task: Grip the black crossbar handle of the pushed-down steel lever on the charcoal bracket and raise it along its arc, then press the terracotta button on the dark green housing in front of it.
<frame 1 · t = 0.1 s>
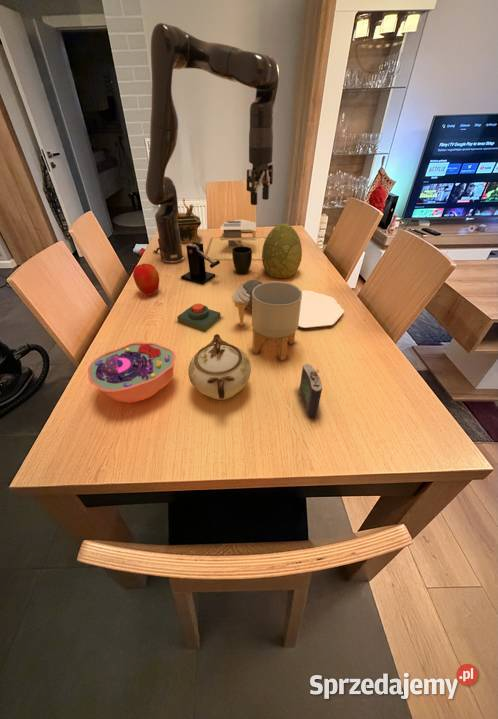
hand: (259, 202, 104), 29 cm above the table, tool pointing down, fingers open, 8 cm apart
cell model: (140, 388, 76), on the table
sugar bowl: (221, 388, 76), on the table
lever: (204, 256, 117), point 10 cm above the table, hinge at -25.0°
plate: (306, 311, 105), on the table
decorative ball: (253, 308, 106), on the table
decorative box: (183, 241, 160), on the table
house model: (239, 248, 151), on the table
ice cream cone: (241, 326, 98), on the table
decorative sculpture: (280, 273, 129), on the table
button: (198, 308, 97), point 4 cm above the table, slide at 0.1 cm
flask: (307, 404, 72), on the table
planter: (273, 347, 89), on the table
mug: (242, 270, 131), on the table
bracket: (198, 277, 125), on the table
button housing: (199, 320, 100), on the table
red mango: (150, 293, 115), on the table
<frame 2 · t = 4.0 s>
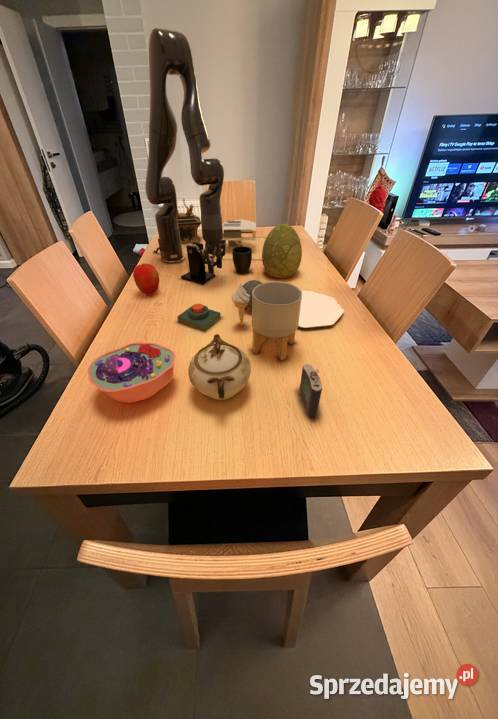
hand: (215, 270, 118), 5 cm above the table, tool pointing down, fingers closed on lever, 5 cm apart
lever: (204, 256, 117), point 10 cm above the table, hinge at -25.1°, touching gripper
everything else where it was.
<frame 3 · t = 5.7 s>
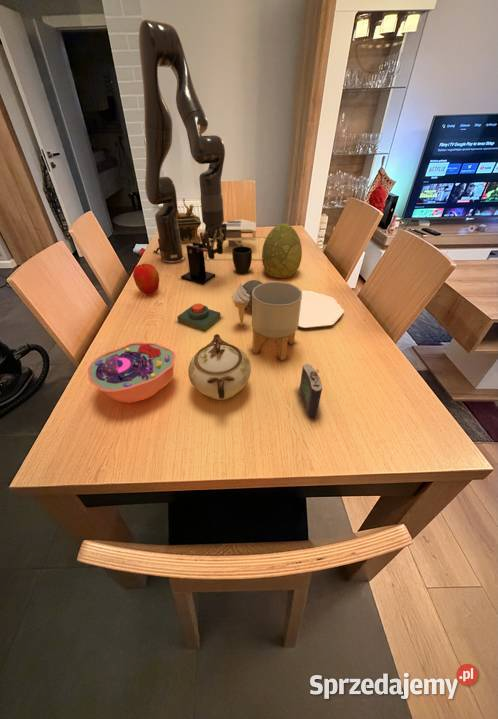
hand: (215, 255, 114), 11 cm above the table, tool pointing down, fingers closed on lever, 5 cm apart
lever: (204, 249, 115), point 13 cm above the table, hinge at 6.5°, touching gripper
everything else where it was.
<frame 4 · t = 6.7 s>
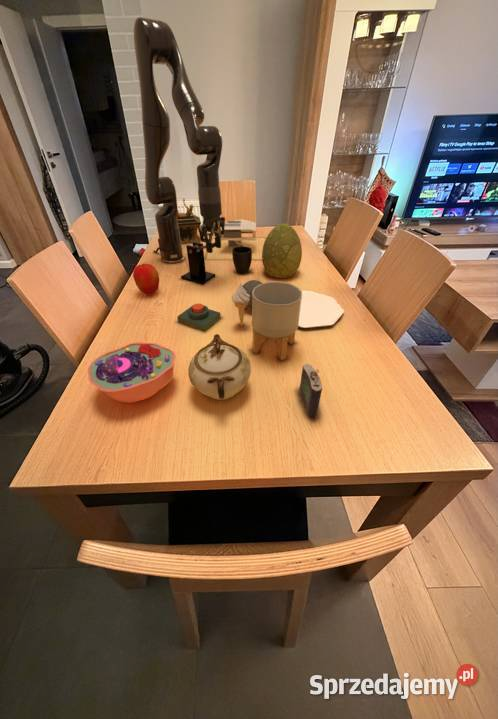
hand: (214, 249, 113), 13 cm above the table, tool pointing down, fingers closed on lever, 5 cm apart
lever: (203, 247, 115), point 14 cm above the table, hinge at 19.2°, touching gripper
everything else where it was.
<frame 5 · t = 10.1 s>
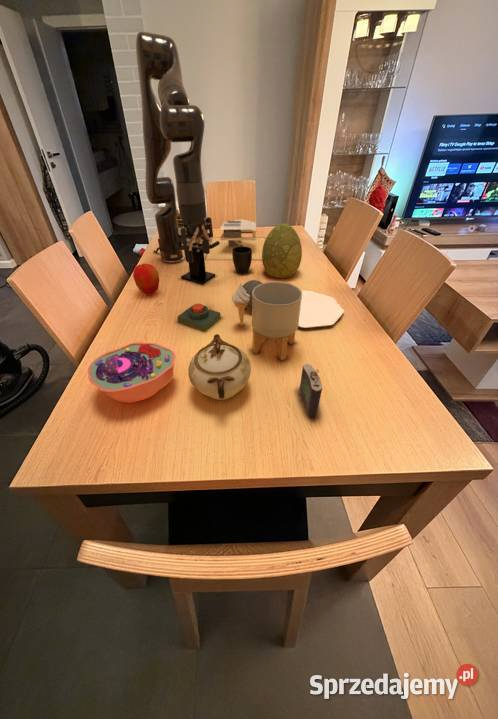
hand: (198, 257, 93), 19 cm above the table, tool pointing down, fingers open, 8 cm apart
lever: (203, 247, 115), point 14 cm above the table, hinge at 18.8°
everything else where it was.
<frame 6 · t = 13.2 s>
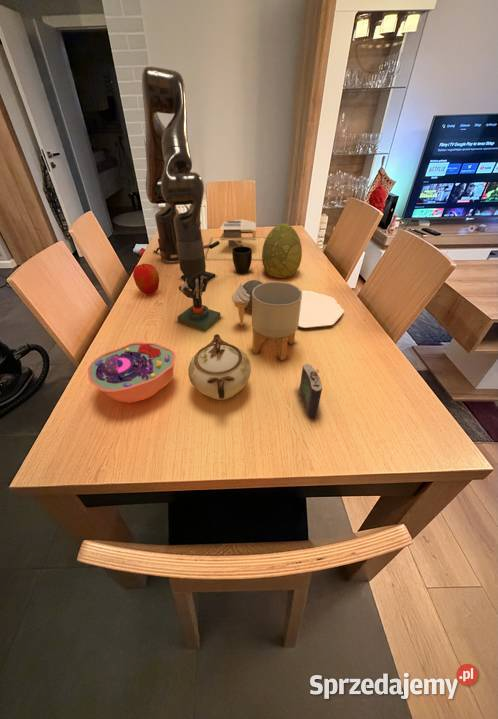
hand: (198, 306, 97), 5 cm above the table, tool pointing down, fingers closed
button: (198, 309, 97), point 4 cm above the table, slide at -0.2 cm, touching gripper
everything else where it was.
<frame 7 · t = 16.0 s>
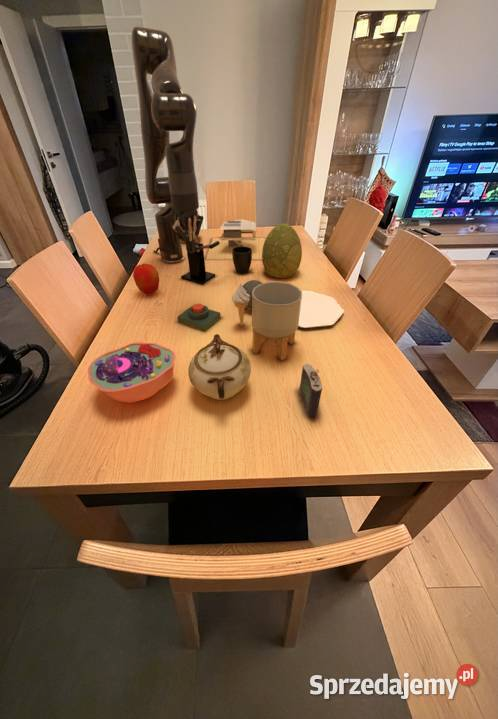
hand: (191, 251, 94), 20 cm above the table, tool pointing down, fingers closed
button: (198, 308, 97), point 4 cm above the table, slide at 0.1 cm
everything else where it was.
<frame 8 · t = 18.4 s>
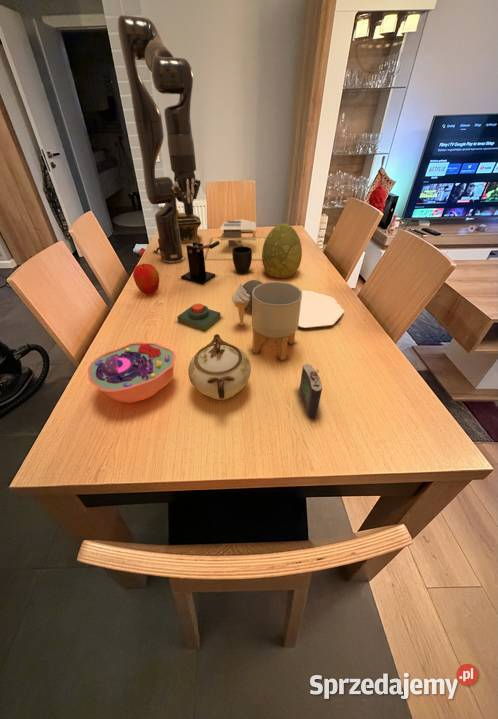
hand: (189, 215, 100), 27 cm above the table, tool pointing down, fingers closed
nothing on the table moved.
at the end: lever at +19° (first picture: -25°); button pushed in 1.1 cm at the most during the clip, back to where it started at the end; button slide at 0.1 cm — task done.
